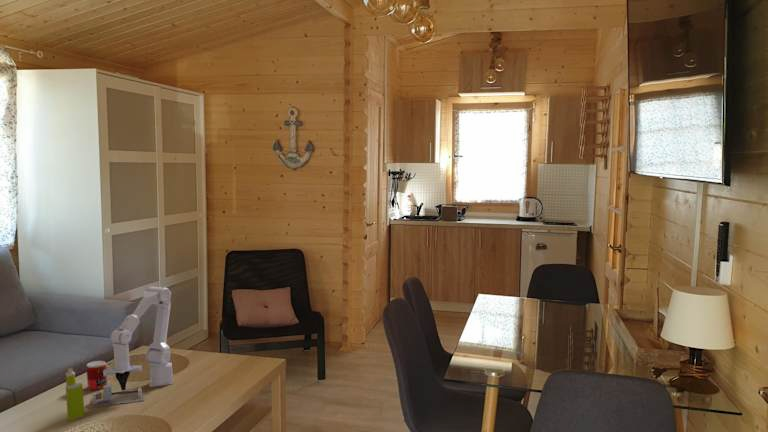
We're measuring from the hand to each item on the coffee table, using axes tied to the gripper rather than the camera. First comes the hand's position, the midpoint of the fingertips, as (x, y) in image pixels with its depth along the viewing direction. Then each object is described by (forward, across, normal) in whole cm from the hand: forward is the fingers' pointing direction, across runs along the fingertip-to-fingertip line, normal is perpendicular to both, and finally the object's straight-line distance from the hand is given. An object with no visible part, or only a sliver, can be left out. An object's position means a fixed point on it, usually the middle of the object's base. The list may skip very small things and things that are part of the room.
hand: (123, 389), depth 244 cm
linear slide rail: (+4, -2, 0) cm, 5 cm away
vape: (+4, -16, -12) cm, 21 cm away
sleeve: (+3, -6, 0) cm, 7 cm away
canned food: (+5, -12, +19) cm, 23 cm away
